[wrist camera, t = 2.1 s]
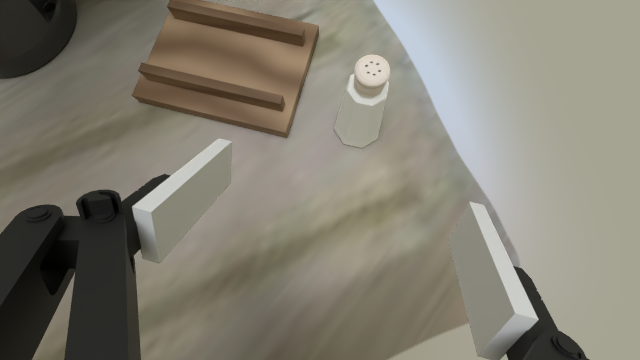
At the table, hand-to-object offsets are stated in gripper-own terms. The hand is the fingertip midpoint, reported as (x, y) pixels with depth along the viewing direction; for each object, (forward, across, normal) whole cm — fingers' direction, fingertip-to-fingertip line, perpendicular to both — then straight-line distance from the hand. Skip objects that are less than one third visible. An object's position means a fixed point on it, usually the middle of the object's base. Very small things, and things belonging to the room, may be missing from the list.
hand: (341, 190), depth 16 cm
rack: (+21, -16, 0) cm, 27 cm away
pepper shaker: (+19, 0, -3) cm, 19 cm away
